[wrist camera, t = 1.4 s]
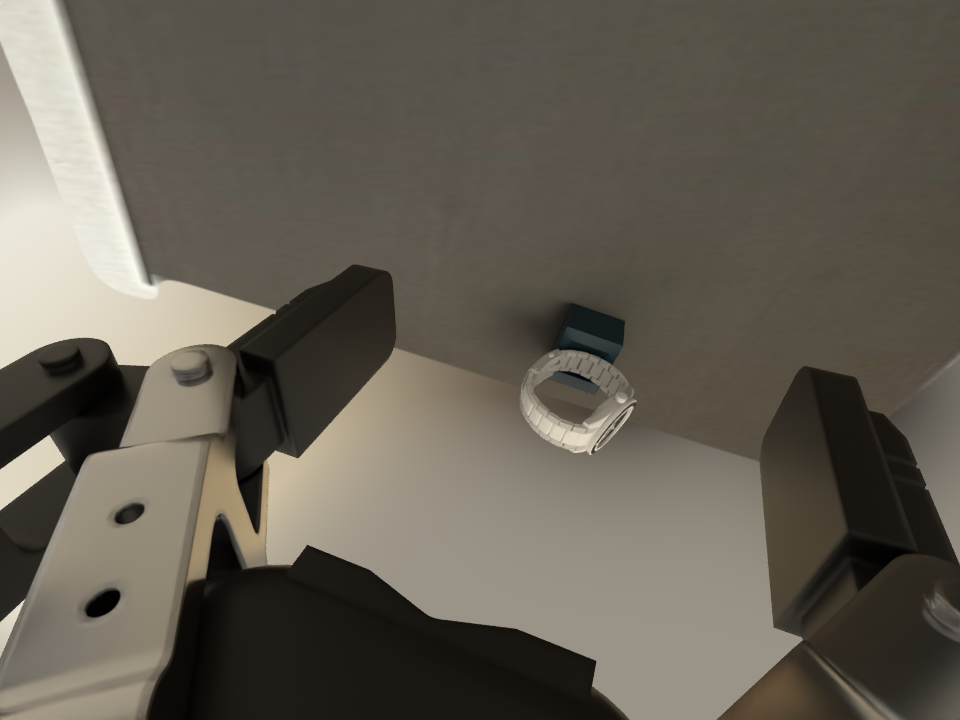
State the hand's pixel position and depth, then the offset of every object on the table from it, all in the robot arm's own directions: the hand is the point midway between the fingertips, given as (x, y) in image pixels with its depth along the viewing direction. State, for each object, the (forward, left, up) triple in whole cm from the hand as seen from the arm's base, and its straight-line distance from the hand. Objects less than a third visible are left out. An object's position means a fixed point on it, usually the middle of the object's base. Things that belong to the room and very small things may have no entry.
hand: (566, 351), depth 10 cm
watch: (+13, -14, -26) cm, 32 cm away
